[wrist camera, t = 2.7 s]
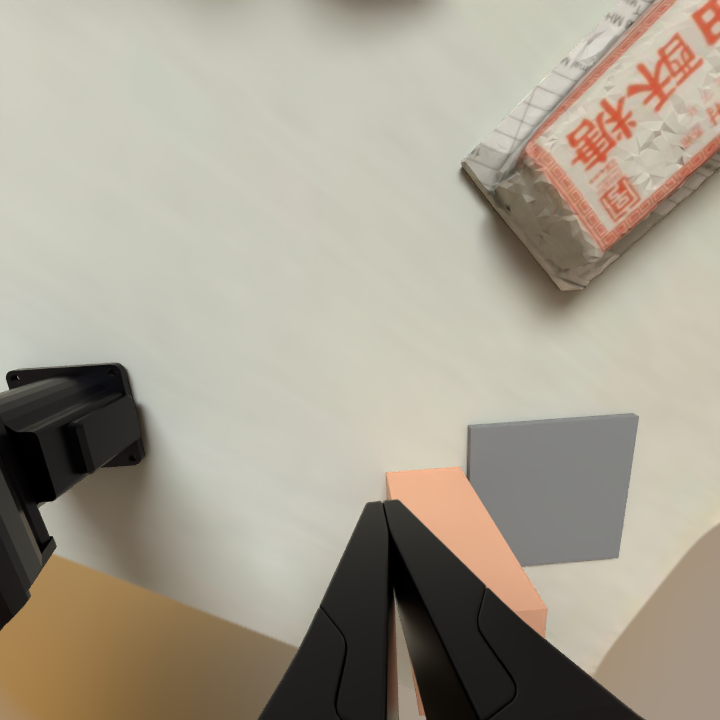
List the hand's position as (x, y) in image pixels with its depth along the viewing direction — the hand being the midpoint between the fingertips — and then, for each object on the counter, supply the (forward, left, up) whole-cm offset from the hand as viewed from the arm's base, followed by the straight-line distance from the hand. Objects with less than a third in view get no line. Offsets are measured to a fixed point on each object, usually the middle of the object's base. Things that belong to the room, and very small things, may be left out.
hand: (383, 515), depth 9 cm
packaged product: (+16, +14, -13) cm, 25 cm away
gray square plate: (+12, -9, -12) cm, 20 cm away
